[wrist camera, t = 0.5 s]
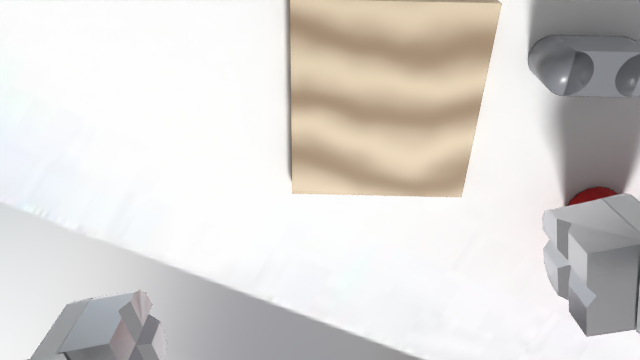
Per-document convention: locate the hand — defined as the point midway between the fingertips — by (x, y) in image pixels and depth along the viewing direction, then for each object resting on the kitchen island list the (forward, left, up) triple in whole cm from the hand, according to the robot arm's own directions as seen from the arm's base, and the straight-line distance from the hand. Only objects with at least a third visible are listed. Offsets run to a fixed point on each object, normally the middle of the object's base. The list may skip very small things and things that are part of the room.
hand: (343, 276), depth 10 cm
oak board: (+13, +6, -38) cm, 41 cm away
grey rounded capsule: (+8, +24, -38) cm, 46 cm away
